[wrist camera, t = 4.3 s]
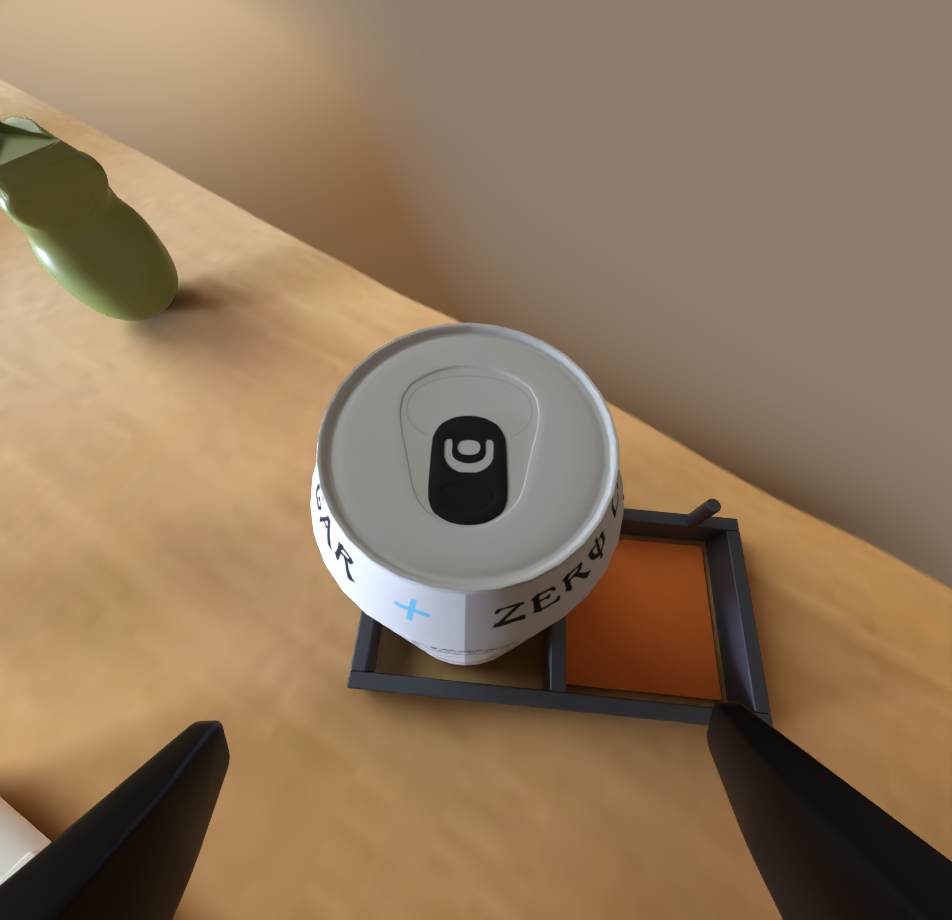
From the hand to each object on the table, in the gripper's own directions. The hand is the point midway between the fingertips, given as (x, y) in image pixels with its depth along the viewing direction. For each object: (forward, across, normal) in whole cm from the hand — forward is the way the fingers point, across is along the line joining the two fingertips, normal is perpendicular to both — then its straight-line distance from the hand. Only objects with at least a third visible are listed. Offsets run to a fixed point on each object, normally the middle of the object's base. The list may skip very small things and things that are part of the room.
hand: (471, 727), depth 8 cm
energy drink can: (+12, 0, +6) cm, 13 cm away
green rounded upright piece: (+24, +19, -7) cm, 32 cm away
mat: (+11, -8, +6) cm, 14 cm away
